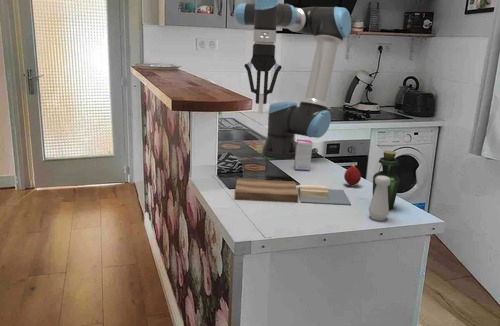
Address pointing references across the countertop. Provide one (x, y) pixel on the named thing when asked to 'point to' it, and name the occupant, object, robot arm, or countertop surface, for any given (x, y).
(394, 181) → the potion bottle
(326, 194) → the beech block
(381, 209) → the salt shaker
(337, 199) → the slate mat
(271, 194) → the board
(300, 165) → the supplement box
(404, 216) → the countertop surface
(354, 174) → the onion
